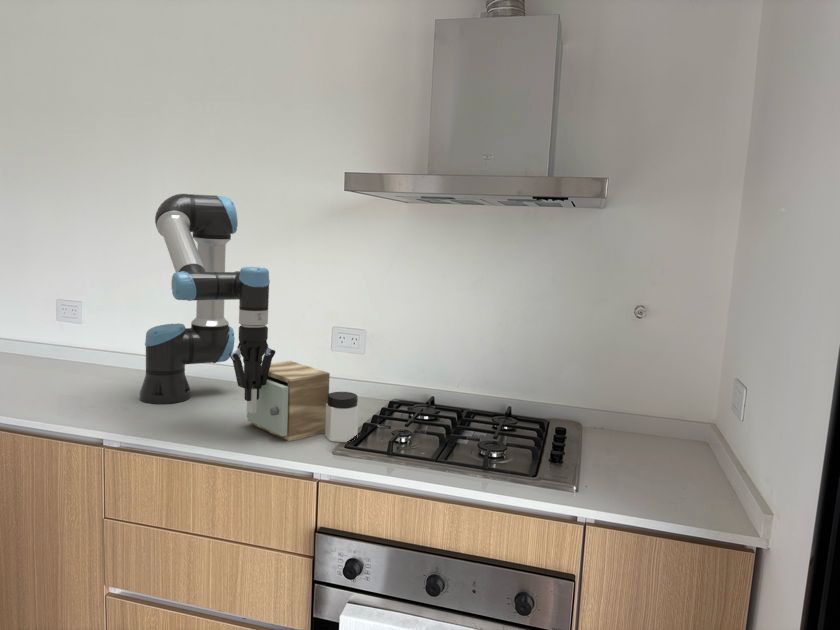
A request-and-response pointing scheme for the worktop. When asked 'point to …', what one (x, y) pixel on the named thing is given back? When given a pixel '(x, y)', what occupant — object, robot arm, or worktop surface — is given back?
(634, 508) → the worktop surface
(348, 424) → the jar
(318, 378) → the cabinet
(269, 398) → the door
